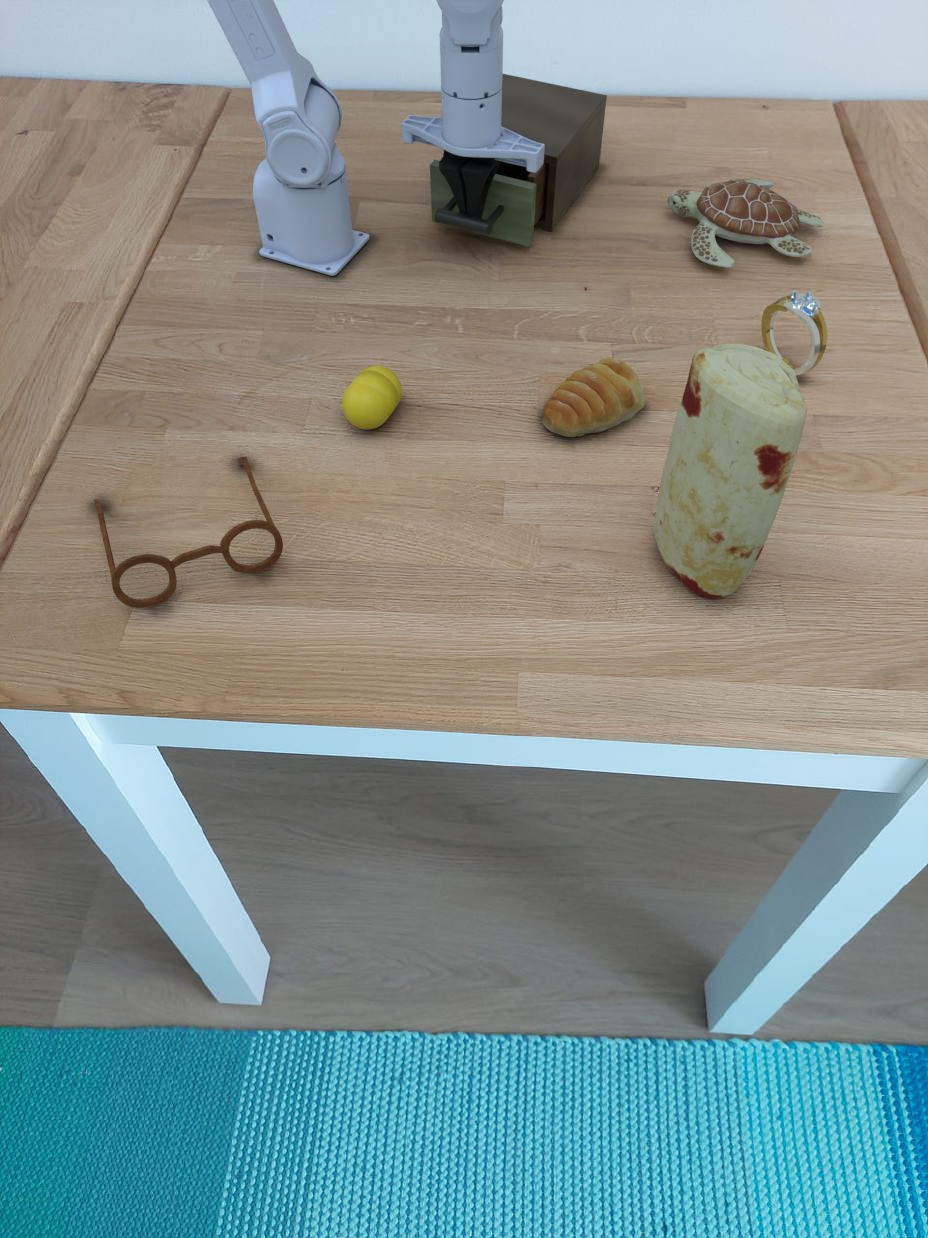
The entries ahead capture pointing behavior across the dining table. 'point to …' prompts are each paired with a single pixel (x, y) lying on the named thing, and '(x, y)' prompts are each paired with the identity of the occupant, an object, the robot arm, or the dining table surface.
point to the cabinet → (557, 135)
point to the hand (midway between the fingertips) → (472, 221)
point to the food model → (727, 465)
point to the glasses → (191, 552)
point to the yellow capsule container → (371, 397)
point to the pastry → (594, 399)
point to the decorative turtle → (741, 219)
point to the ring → (808, 314)
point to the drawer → (496, 203)
